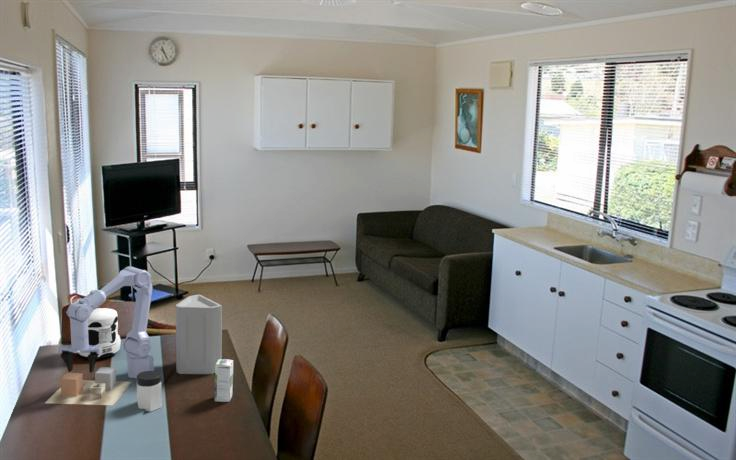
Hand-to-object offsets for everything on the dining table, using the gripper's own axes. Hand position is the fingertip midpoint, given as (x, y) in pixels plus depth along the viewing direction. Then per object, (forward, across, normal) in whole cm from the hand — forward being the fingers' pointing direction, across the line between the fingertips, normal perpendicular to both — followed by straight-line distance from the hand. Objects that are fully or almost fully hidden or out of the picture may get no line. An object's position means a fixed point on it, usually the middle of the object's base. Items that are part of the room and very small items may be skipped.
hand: (81, 371), depth 239 cm
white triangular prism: (+10, +34, +29) cm, 46 cm away
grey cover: (+9, +6, +7) cm, 13 cm away
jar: (+10, +26, -6) cm, 29 cm away
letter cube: (+9, +6, -1) cm, 11 cm away
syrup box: (+10, +51, +2) cm, 52 cm away
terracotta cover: (+9, -4, +1) cm, 10 cm away
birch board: (+10, +2, +2) cm, 10 cm away
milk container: (+10, -9, +40) cm, 43 cm away
